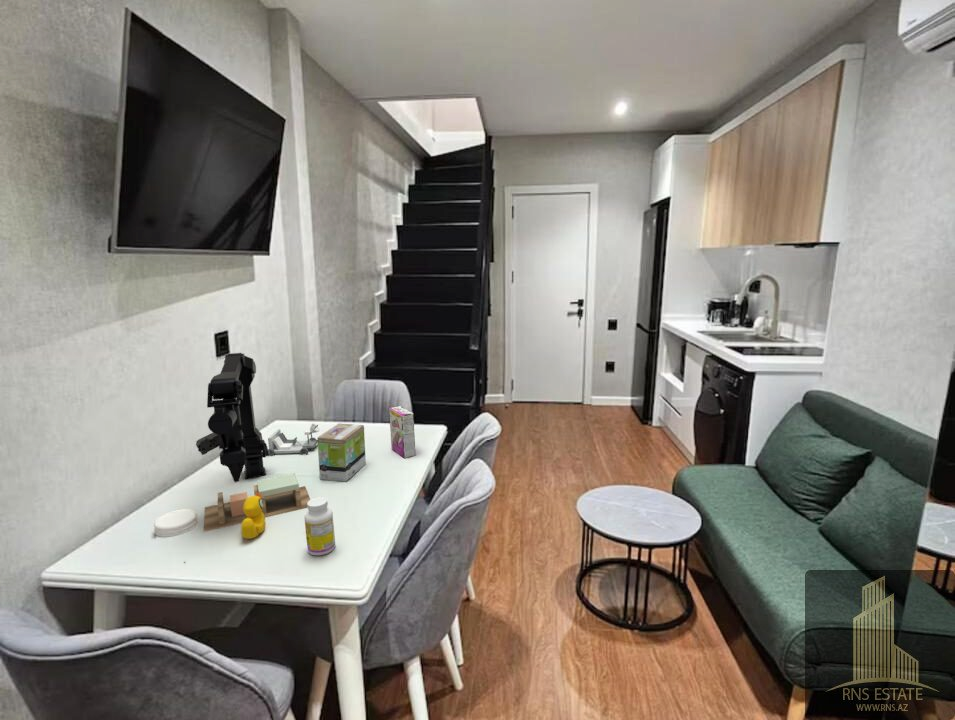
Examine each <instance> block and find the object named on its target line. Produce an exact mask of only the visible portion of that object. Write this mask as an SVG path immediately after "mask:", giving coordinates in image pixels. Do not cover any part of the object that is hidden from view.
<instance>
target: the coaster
mask: <svg viewBox="0 0 955 720" xmlns="http://www.w3.org/2000/svg"><path fill="white" fill-rule="evenodd" d="M198 522H199V520H198V513H197V512H196V511H195V510H193V509H189V508H188V509H187V508H185V509H184V508H183V509H177V510H172V511H169V512H166V513H164V514H162V515H160V516H159V517H158V518H156V520H155V521H154V522H153V527H154V534H155V536H156V537H158V536H159V537H163V538H164V537H166V538H167V537H174V536H179V535H181V534H184V533H186V532H189V531H190V530H193V529H194V528H195V527H196V526H197V525H198Z"/></svg>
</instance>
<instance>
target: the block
mask: <svg viewBox="0 0 955 720" xmlns="http://www.w3.org/2000/svg"><path fill="white" fill-rule="evenodd" d="M248 497H249V495H248V492H247V491H245V492H241V493H236V494H235V493H234V494H231V495H229V502H230V505H231V513H232V517H235V516H239V515H244V514H245V513H244V511H243V505H244V502H245V500H246V499H247V498H248Z"/></svg>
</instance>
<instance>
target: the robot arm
mask: <svg viewBox="0 0 955 720" xmlns="http://www.w3.org/2000/svg"><path fill="white" fill-rule="evenodd" d="M256 365H257V364H256V361H254V359H253V358H252V357H250V356H247V355H245V353H242V352H235V353H234V352H232V353H227V354H225V356H224V360H223V366H222V368H221V371H220V373H218V374H216V375H214V376H213V377H212V378H211V380H210V382H209V383H208V384H207V399H206V400H207V402H206V403H207V404H206V407H207V408H213V413H212V414H211V416H210V417H209V418H208V421H207V427H208V429H209V430H210V432H211V433H209V434H208V435H205V436H203V437H201V438H198V439H197V440H196V441H195V442H196V443H195V446H196V448H197V451H198V452H199V453H200V454H201V455H206V454H207V453H209V452H210V451H212V450H215V449H217V448H218V449H219V450H221V452H219V461H220V462H219V463H220V465H222V466H224V467H226V468H228V470H229V473H230V474H231V477H232V480H233V481H234V483H238V482H240V479H241V476H242V473H243V475H244V479H247V480H248V479H252V478H253V479H254V478H257V477H262V476H266V475H267V473H266V472H267V471H266V467H264V461H263V458H266V457H269V456H268V455H269V454H268V449H269V447H268V446H267V444H268V443H266V441H265V439H263V434H262V432H261V431H259V429H258V428H257V427H256V419H255V411H254V404H253V403H254V402H253V395H252V388H251V387H252V386H251V385H252V383H253V381H254V379H255V377H256V375H255V374H256V373H257V366H256ZM243 470H244V471H243Z"/></svg>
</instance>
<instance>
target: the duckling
mask: <svg viewBox="0 0 955 720" xmlns="http://www.w3.org/2000/svg"><path fill="white" fill-rule="evenodd" d="M262 509H263V502H262V499H261V494H260V493H257V495H256V496H255V495H250V496H248V498H247V499H246V500H245V502H244V505H243V511H244V513H245V515H246V516H247V518H246V519H244V520H243V522H242V523H241V526H240V530H241V536H242V537H243V539H246V540H249V539H250V540H251V539H255V538H256V537H258V536H259V535H260V534H261V533H263V532H264V530H265V527H266V517H265V516H264V514H263V513H262V512H261V511H262Z"/></svg>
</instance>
